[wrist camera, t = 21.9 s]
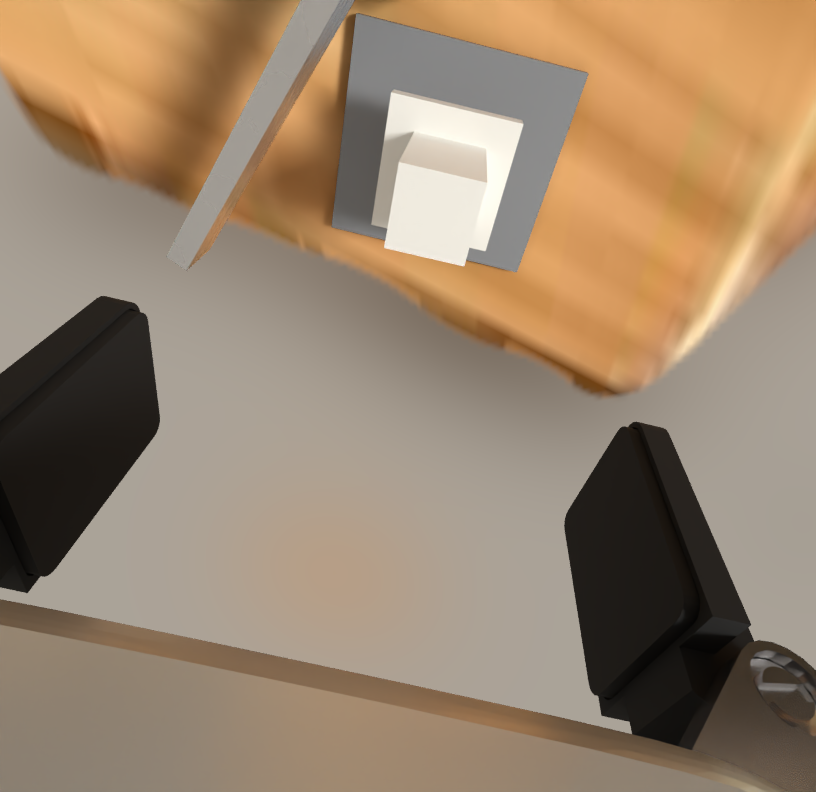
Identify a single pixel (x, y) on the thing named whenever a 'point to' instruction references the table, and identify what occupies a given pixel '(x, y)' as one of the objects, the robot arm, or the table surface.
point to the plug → (442, 176)
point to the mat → (463, 85)
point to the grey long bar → (259, 124)
